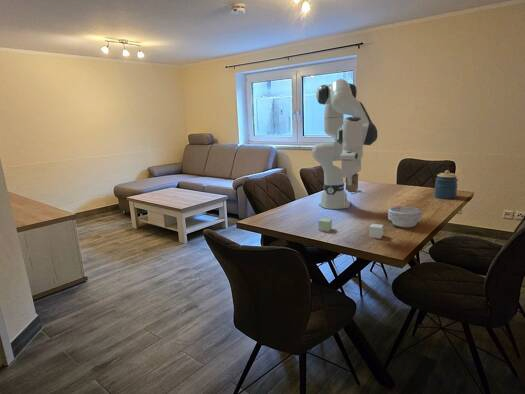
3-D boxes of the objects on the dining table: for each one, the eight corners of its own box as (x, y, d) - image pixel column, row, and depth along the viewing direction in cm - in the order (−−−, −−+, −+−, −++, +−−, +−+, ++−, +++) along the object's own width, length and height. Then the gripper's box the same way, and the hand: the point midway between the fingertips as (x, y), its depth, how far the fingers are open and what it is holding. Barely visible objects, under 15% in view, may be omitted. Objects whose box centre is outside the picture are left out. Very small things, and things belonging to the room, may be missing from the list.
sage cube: (322, 227, 167) (322, 218, 166) (331, 228, 165) (331, 219, 163) (318, 230, 163) (318, 220, 162) (328, 231, 160) (328, 221, 159)
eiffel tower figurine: (352, 194, 237) (353, 176, 234) (340, 193, 244) (341, 174, 241) (364, 191, 247) (364, 173, 244) (352, 189, 254) (352, 172, 251)
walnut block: (348, 188, 158) (348, 173, 156) (357, 188, 156) (358, 173, 154) (345, 190, 154) (345, 175, 153) (355, 190, 152) (355, 175, 150)
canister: (456, 200, 210) (458, 172, 206) (432, 198, 216) (435, 171, 212) (457, 195, 220) (459, 169, 216) (434, 194, 227) (436, 168, 223)
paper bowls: (393, 218, 177) (394, 204, 175) (424, 223, 167) (425, 208, 165) (383, 226, 165) (383, 210, 163) (415, 231, 156) (416, 215, 154)
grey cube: (371, 233, 155) (371, 223, 154) (382, 235, 153) (383, 224, 152) (369, 237, 151) (369, 226, 150) (380, 238, 149) (381, 228, 147)
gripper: (351, 151, 162) (350, 179, 165) (338, 156, 144) (338, 187, 147) (364, 151, 159) (364, 180, 162) (353, 156, 141) (352, 188, 144)
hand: (351, 183), depth 154 cm, fingers closed on walnut block, 4 cm apart
